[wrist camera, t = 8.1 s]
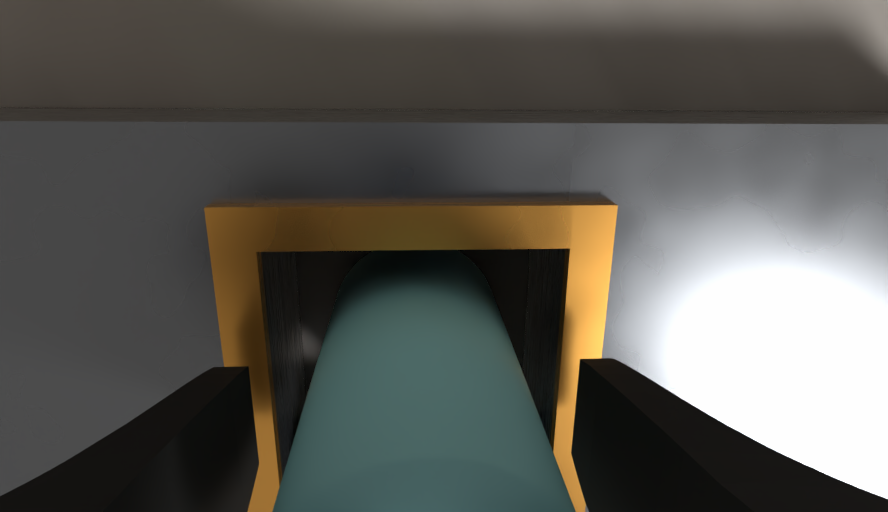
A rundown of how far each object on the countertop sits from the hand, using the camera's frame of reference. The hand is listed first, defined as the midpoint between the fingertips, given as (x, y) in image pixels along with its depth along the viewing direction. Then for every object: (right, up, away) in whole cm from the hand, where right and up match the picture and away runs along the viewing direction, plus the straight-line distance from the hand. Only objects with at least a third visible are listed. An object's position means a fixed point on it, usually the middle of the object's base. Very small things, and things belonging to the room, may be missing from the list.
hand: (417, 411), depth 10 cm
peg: (0, +1, +4) cm, 4 cm away
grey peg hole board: (0, +1, +4) cm, 4 cm away
